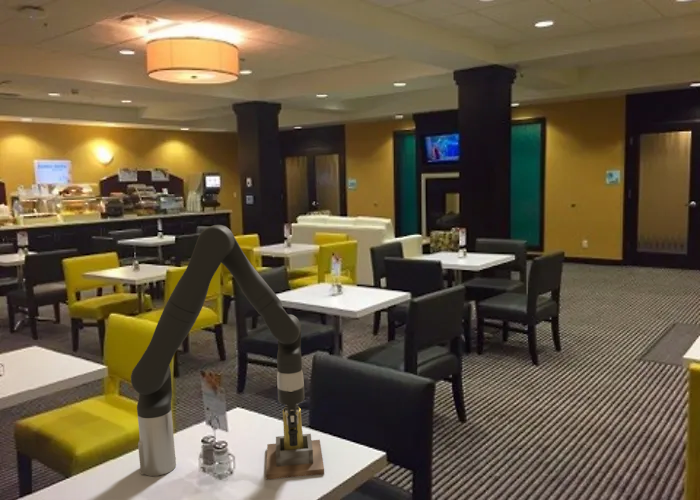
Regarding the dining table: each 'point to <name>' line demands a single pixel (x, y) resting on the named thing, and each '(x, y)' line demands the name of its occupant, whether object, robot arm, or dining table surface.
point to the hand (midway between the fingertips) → (293, 439)
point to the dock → (294, 459)
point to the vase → (299, 434)
